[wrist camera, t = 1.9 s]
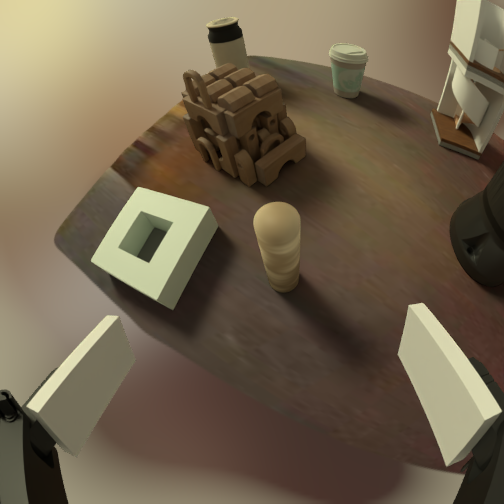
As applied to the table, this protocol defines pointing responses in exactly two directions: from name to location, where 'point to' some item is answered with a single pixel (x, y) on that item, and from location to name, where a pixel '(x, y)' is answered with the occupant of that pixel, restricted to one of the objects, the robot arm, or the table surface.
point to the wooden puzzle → (241, 123)
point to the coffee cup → (347, 68)
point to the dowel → (279, 244)
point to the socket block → (156, 244)
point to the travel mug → (227, 42)
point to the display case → (472, 79)
